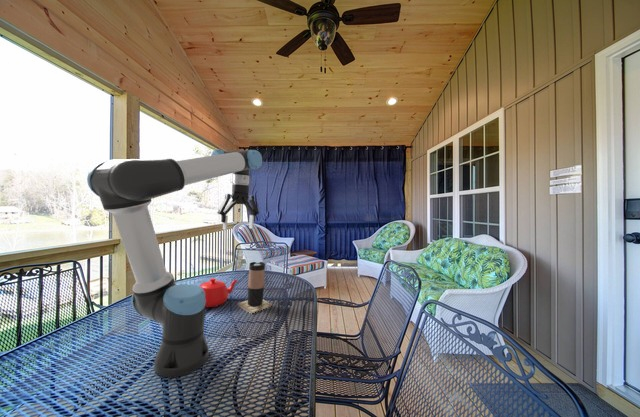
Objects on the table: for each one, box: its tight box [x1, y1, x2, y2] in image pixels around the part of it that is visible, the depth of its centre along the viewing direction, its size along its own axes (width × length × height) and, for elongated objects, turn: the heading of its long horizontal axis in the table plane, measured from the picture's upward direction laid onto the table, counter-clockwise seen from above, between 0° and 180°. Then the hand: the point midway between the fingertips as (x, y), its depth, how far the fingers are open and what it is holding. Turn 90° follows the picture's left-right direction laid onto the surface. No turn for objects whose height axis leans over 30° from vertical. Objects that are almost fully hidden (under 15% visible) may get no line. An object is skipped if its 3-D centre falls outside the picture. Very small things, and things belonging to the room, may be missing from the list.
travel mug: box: [247, 261, 266, 306], centre depth 117 cm, size 8×8×20 cm
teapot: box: [199, 277, 239, 309], centre depth 119 cm, size 25×16×12 cm, turn 133°
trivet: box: [237, 299, 273, 315], centre depth 118 cm, size 12×12×2 cm
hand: (238, 229), depth 112 cm, fingers open, 13 cm apart
